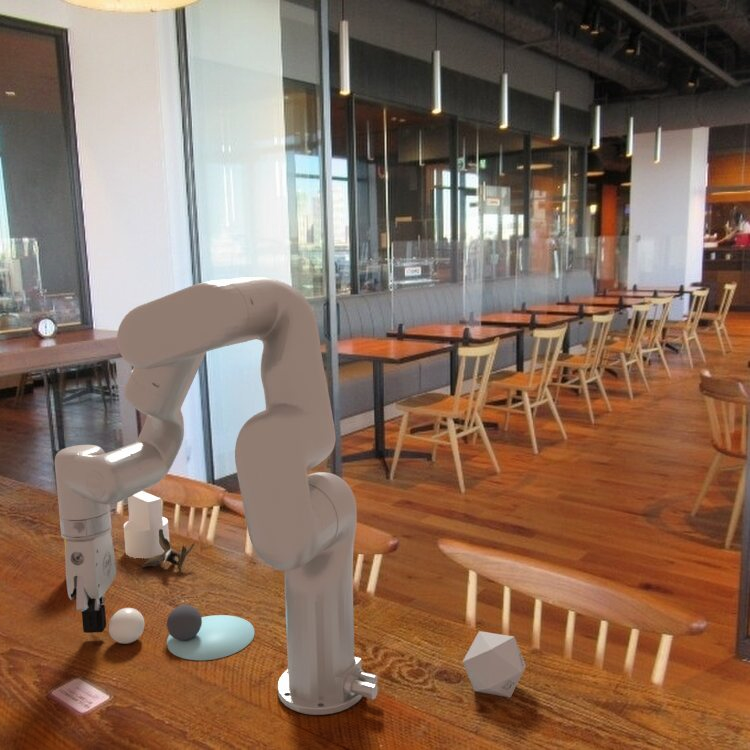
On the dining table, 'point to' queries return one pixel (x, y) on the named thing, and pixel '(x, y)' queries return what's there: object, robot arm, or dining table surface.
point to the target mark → (214, 639)
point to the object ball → (184, 622)
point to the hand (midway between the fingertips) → (95, 629)
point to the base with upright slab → (144, 526)
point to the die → (494, 664)
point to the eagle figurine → (168, 553)
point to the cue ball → (126, 625)
